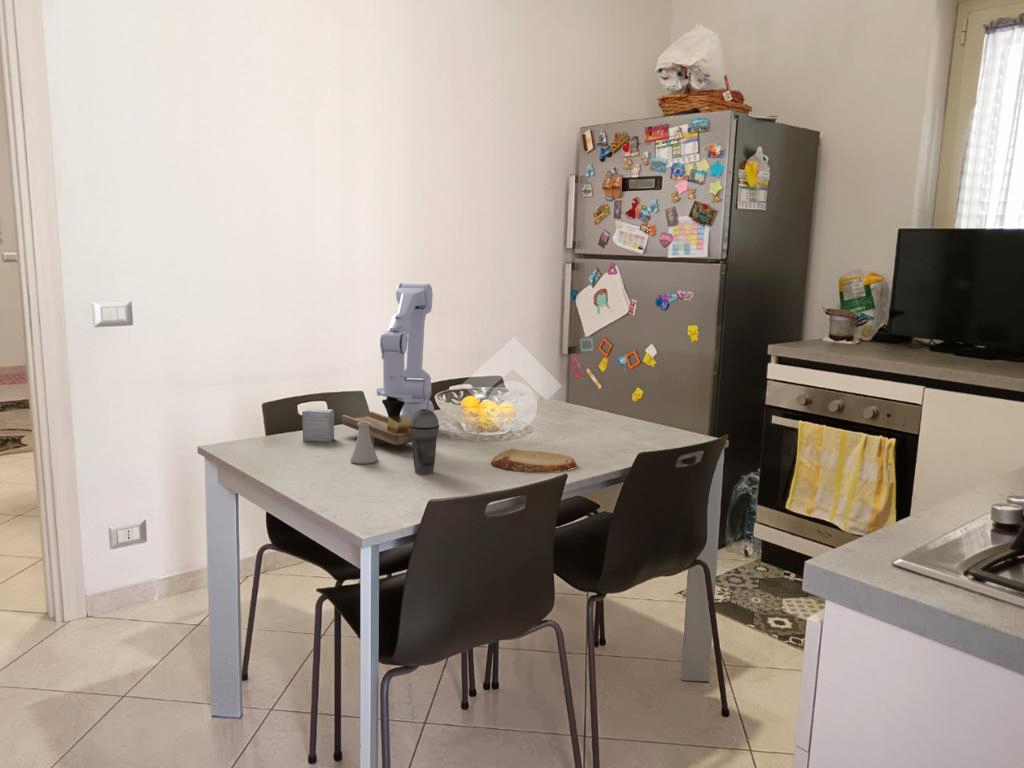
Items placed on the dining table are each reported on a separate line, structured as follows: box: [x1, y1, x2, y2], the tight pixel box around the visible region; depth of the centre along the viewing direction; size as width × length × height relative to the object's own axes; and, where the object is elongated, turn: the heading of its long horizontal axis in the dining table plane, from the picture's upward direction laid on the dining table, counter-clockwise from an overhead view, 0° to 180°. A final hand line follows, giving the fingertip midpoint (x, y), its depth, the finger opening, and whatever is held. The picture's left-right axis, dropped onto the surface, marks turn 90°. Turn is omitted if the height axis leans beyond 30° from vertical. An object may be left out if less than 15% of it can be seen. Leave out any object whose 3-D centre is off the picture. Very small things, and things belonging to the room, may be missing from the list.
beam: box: [341, 411, 412, 446], centre depth 226 cm, size 10×28×3 cm, turn 41°
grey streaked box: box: [301, 408, 335, 443], centre depth 227 cm, size 8×4×9 cm, turn 84°
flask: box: [350, 422, 379, 465], centre depth 205 cm, size 7×7×10 cm
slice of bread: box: [490, 448, 578, 473], centre depth 204 cm, size 18×18×4 cm
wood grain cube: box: [387, 414, 411, 434], centre depth 219 cm, size 5×5×4 cm
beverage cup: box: [409, 391, 440, 475], centre depth 195 cm, size 7×7×20 cm
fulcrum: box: [370, 435, 390, 446], centre depth 225 cm, size 8×2×3 cm, turn 131°
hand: (394, 424), depth 221 cm, fingers closed, pressing on wood grain cube
